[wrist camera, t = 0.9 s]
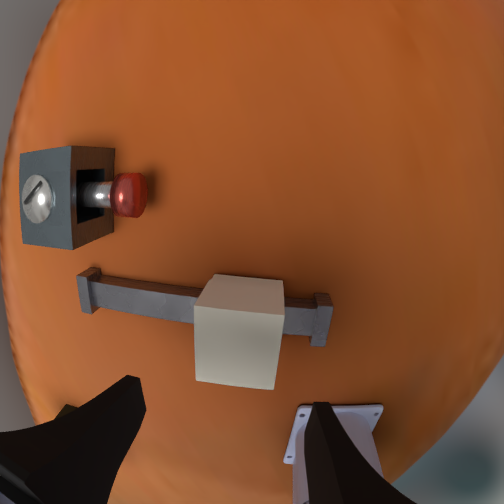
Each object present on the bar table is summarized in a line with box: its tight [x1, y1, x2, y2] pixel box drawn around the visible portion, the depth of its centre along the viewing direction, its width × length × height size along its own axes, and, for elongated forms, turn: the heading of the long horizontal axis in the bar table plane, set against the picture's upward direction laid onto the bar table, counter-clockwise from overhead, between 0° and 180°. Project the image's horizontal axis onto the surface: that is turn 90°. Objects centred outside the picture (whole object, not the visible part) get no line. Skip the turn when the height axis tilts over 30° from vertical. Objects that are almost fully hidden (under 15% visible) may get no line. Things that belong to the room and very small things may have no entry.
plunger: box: [76, 173, 148, 218], centre depth 16 cm, size 3×4×3 cm, turn 86°
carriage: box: [194, 274, 285, 390], centre depth 17 cm, size 5×4×5 cm
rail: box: [76, 267, 333, 347], centre depth 19 cm, size 3×18×2 cm, turn 86°
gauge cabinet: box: [19, 146, 115, 250], centre depth 16 cm, size 6×5×5 cm
